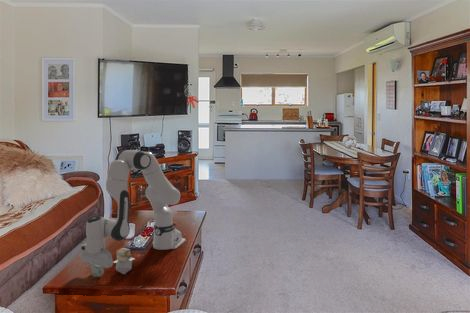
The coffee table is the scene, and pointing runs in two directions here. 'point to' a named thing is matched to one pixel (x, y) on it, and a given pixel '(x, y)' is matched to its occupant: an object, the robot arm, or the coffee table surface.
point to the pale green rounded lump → (96, 271)
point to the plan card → (129, 259)
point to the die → (124, 266)
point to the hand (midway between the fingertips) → (97, 272)
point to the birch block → (123, 254)
